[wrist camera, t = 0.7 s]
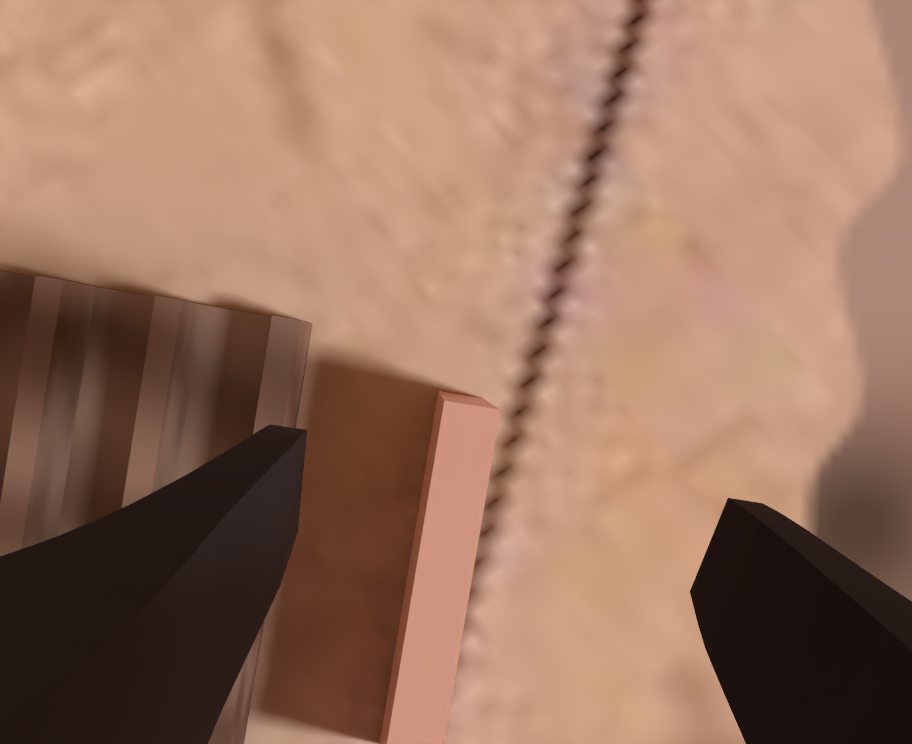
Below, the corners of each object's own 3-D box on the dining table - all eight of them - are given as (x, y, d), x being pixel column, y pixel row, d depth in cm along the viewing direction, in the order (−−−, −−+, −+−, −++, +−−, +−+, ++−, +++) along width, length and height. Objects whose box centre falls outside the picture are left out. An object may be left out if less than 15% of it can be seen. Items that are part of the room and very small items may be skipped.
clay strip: (423, 746, 28) (425, 852, 22) (379, 741, 28) (369, 846, 22) (482, 397, 28) (500, 409, 22) (438, 390, 28) (444, 400, 22)
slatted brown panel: (239, 771, 27) (215, 826, 24) (-97, 731, 26) (-168, 782, 23) (312, 323, 27) (298, 319, 24) (-26, 266, 26) (-87, 254, 23)
